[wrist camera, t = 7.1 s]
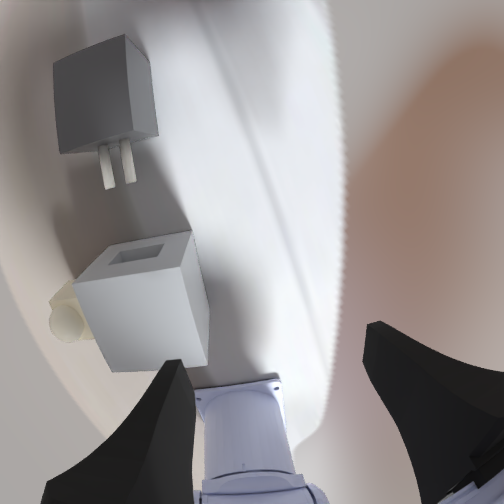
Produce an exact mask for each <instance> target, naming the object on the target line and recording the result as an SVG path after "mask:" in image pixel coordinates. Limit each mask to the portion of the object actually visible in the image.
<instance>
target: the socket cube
mask: <svg viewBox="0 0 504 504" xmlns="http://www.w3.org/2000/svg"><path fill="white" fill-rule="evenodd" d="M72 286H73V289H74V292H75V294H76V297H77V299H78V302H79V304H80V307H81V309H82V311H83V314H84V316H85V318H86V321H87V323H88V325H89V327H90V329H91V332H92V334H93V336H94V338H95V340H96V342H97V344H98V346H99V348H100V350H101V352H102V354H103V356H104V358H105V360H106V362H107V364H108V366H109V368H110V369H111V371H112V372H136V371H154V370H160V368H161V367H162V365H163V364H164V362H165V361H166V360H174V359H182V362H183V365H184V367H185V368H189V367H199V366H207V365H208V343H209V318H210V308H209V304H208V299H207V295H206V291H205V287H204V282H203V278H202V273H201V269H200V264H199V260H198V255H197V250H196V245H195V241H194V236H193V231H192V230H191V231H185V232H179V233H174V234H168V235H162V236H157V237H152V238H146V239H141V240H136V241H130V242H125V243H120V244H115V245H110V246H109V247H108V248H107V249H106V250H105V251H104V252H103V253H101V254H100V255H99V256H98V257H97V258H96V259H95V260H94V261H93V262H92V263H91V264H90V265H89V266H88V267H87V268H86V269H85V271H84V272H83V273H82V274H81V275H80V276H79V277H78V278H77V279H76V280H75V281H74V282H73V283H72Z"/></svg>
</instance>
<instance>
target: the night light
mask: <svg viewBox="0 0 504 504" xmlns="http://www.w3.org/2000/svg"><path fill="white" fill-rule="evenodd" d="M74 281H75V280H71V281H68V282H67V283H66V284H65V285H64V286H63V287H62V288H61V289H60V290H59V291H58V292H57V293H56V294H55V295H54V296H53V297H52V298H51V299H50V301H49V303H50V306H51V308H52V310H53V311H52V312H51V315H50V318H49V326H50V330H51V332H52V334H53V335H54V336H55V337H56V338H57V339H58V340H60V341H62V342H65V343H71V342H74V341H76V340H93V339H95V338H94V336H93V334H92V332H91V329H90V327H89V325H88V323H87V321H86V318H85V316H84V314H83V311H82V309H81V307H80V304H79V302H78V299H77V297H76V294H75V292H74V289H73V286H72V283H73V282H74Z"/></svg>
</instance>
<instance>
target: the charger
mask: <svg viewBox="0 0 504 504" xmlns="http://www.w3.org/2000/svg"><path fill="white" fill-rule="evenodd" d="M53 77H54V102H55V116H56V127H57V136H58V144H59V151H60V154H69V153H81V152H95V151H98V153H99V159H100V165H101V171H102V176H103V181H104V186H105V189H109V188H113V187H115V182H114V177H113V171H112V166H111V160H110V154H109V149H110V148H113V147H116V146H120V152H121V158H122V164H123V170H124V175H125V181H126V184H129V183H133V182H137V180H136V174H135V169H134V163H133V157H132V151H131V145H130V143H131V142H135V141H139V140H143V139H147V138H151V137H155V136H159V134H158V127H157V120H156V112H155V104H154V96H153V88H152V78H151V68H150V62H149V61H148V60H147V59H146V58H145V57H144V55H143V54H142V53H141V52H140V51H139V50H138V48H137V47H136V46H135V45H134V44H133V43H132V42H131V40H130V39H129V38H128V37H127V36H126V35H125V34H124V35H121V36H118V37H115V38H112V39H109V40H106V41H104V42H101V43H98V44H96V45H93V46H91V47H88V48H86V49H83V50H81V51H79V52H76V53H74V54H72V55H69V56H67V57H65V58H63V59H61V60H59V61H57V62H55V63H53Z"/></svg>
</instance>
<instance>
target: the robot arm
mask: <svg viewBox="0 0 504 504" xmlns="http://www.w3.org/2000/svg"><path fill="white" fill-rule="evenodd" d="M362 362H363V364H364V367H365V369H366V372H367V374H368V376H369V378H370V381H371V383H372V384H373V386H374V388H375V390H376V391H377V393H378V395H379V396H380V398H381V400H382V401H383V403H384V405H385V406H386V408H387V409H388V411H389V413H390V415H391V416H392V418H393V419H394V421H395V423H396V425H397V427H398V429H399V432H400V434H401V436H402V439H403V441H404V443H405V446H406V449H407V451H408V454H409V457H410V460H411V462H412V466H413V469H414V473H415V476H416V479H417V484H418V488H419V492H420V497H421V503H422V504H504V372H499V371H493V370H489V369H484V368H481V367H477V366H473V365H470V364H467V363H464V362H461V361H458V360H455V359H453V358H450V357H448V356H446V355H443V354H441V353H439V352H437V351H435V350H432V349H431V348H429V347H427V346H425V345H423V344H421V343H419V342H417V341H416V340H414V339H412V338H410V337H409V336H407V335H405V334H403V333H401V332H400V331H398V330H396V329H395V328H393V327H391V326H389V325H388V324H385V323H384V322H382V321H377V322H374V323H370V324H367V329H366V338H365V347H364V354H363V361H362ZM196 406H197V408H198V411H199V413H200V415H201V417H202V419H203V422H204V424H205V430H204V464H205V480H202V492H201V490H194V491H193V483H192V458H193V445H194V434H195V422H196ZM41 504H329V501H328V499H327V497H326V495H325V493H324V492H323V491H322V490H321V489H320V488H318V487H317V486H316V485H314V484H312V483H307V484H305V481H304V477H303V474H296V473H295V468H294V464H293V460H292V456H291V452H290V448H289V444H288V439H287V435H286V422H285V412H284V402H283V393H282V383H281V380H280V379H270V380H265V381H259V382H253V383H246V384H240V385H232V386H225V387H217V388H208V389H198V390H193V388H192V385H191V383H190V380H189V378H188V375H187V372H186V370H185V367H184V365H183V362H182V359H174V360H166V361H165V362H164V364H163V365H162V367H161V368H160V370H159V372H158V373H157V375H156V376H155V378H154V380H153V381H152V383H151V384H150V386H149V387H148V389H147V390H146V392H145V393H144V395H143V396H142V398H141V399H140V401H139V402H138V403H137V405H136V406H135V407H134V409H133V410H132V411H131V413H130V414H129V415H128V417H127V418H126V419H125V420H124V421H123V423H122V424H121V425H120V426H119V427H118V428H117V429H116V431H115V432H114V433H113V434H112V435H111V436H110V437H109V438H108V439H107V440H106V441H105V442H104V443H102V444H101V445H100V446H99V447H98V448H97V449H96V450H94V451H93V452H92V453H91V454H90V455H89V456H87V457H86V458H85V459H83V460H82V461H81V462H79V463H78V464H76V465H75V466H73V467H72V468H70V469H69V470H67V471H65V472H64V473H62V474H60V475H58V476H56V477H55V478H53V479H51V480H49V481H47V483H46V486H45V490H44V493H43V496H42V500H41Z"/></svg>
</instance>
